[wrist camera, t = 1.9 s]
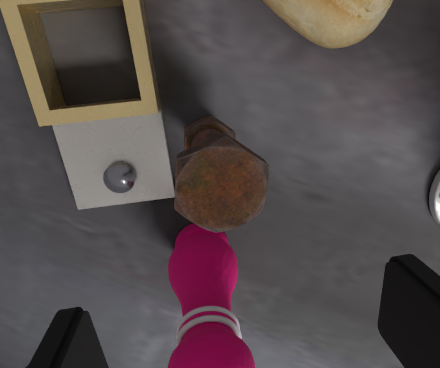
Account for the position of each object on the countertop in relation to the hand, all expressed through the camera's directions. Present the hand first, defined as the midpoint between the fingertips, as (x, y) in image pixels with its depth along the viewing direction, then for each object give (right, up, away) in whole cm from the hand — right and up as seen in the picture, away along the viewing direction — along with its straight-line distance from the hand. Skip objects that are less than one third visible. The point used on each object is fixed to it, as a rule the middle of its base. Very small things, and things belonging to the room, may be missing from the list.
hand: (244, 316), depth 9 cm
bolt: (-2, +9, +21) cm, 23 cm away
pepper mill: (-3, -3, +25) cm, 26 cm away
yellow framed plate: (-12, +15, +17) cm, 26 cm away
